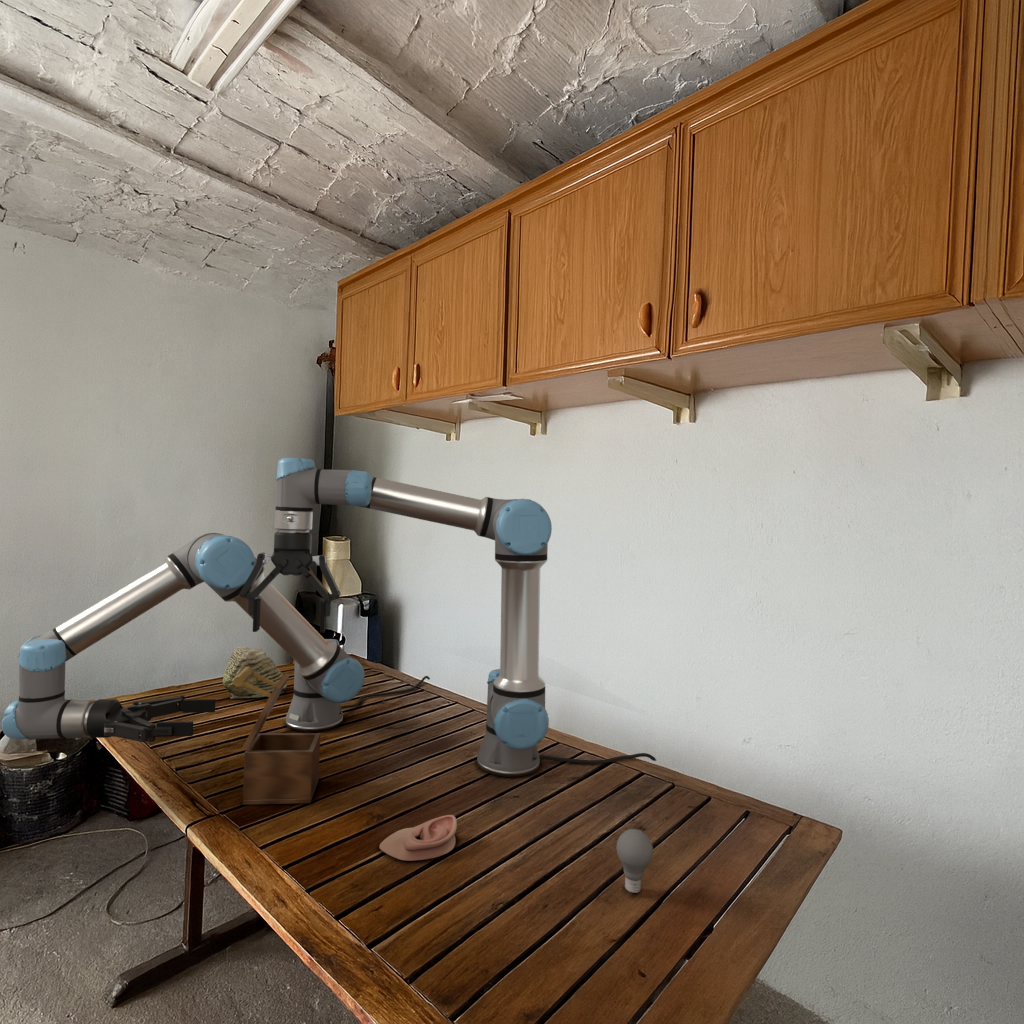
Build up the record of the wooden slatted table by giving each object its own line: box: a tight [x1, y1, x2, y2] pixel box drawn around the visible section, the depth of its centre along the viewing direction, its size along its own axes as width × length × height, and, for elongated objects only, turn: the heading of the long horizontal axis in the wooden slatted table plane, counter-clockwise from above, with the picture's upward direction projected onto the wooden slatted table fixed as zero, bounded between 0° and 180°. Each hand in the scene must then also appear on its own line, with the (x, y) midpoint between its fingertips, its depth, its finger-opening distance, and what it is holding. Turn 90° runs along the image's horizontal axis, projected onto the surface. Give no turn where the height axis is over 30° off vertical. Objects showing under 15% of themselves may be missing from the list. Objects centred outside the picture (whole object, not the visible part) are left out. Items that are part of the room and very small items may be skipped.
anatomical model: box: [379, 814, 458, 862], centre depth 117 cm, size 13×4×12 cm
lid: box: [233, 667, 291, 751], centre depth 134 cm, size 14×10×9 cm
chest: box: [242, 732, 321, 806], centre depth 135 cm, size 13×10×11 cm
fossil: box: [222, 646, 288, 699], centre depth 198 cm, size 9×18×15 cm, turn 132°
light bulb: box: [615, 828, 654, 894], centre depth 106 cm, size 6×6×10 cm
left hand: (204, 716), depth 132 cm, fingers open, 13 cm apart
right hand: (289, 631), depth 134 cm, fingers open, 13 cm apart
